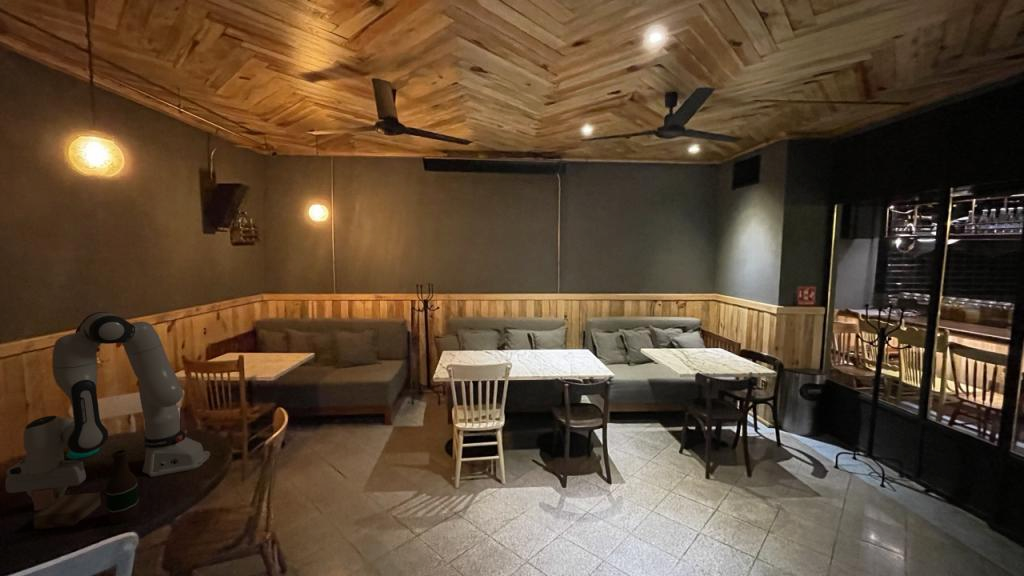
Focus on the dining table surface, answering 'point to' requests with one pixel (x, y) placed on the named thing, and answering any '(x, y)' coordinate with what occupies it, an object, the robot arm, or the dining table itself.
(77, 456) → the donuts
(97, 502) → the walnut block
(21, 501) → the dining table surface
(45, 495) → the terracotta block
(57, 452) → the robot arm
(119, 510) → the beer bottle
